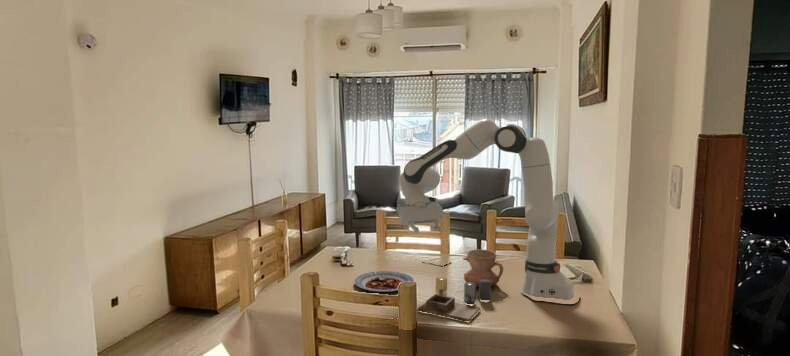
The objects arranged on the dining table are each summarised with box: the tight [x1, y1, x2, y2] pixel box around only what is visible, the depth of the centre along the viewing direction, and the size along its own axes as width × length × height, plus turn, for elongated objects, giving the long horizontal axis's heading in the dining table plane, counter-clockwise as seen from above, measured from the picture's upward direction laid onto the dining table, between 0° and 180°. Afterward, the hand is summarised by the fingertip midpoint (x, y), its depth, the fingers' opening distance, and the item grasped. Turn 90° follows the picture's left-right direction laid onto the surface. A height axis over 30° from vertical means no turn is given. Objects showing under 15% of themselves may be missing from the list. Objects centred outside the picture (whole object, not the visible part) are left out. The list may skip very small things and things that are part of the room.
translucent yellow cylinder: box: [435, 277, 448, 297], centre depth 194 cm, size 4×4×8 cm
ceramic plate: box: [354, 270, 415, 293], centre depth 211 cm, size 26×26×3 cm
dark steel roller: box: [463, 281, 477, 304], centre depth 188 cm, size 4×4×8 cm
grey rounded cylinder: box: [478, 279, 492, 300], centre depth 191 cm, size 4×4×8 cm
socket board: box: [417, 293, 481, 322], centre depth 181 cm, size 20×12×4 cm, turn 61°
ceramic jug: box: [462, 249, 504, 288], centre depth 209 cm, size 18×14×14 cm
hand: (427, 231), depth 203 cm, fingers open, 8 cm apart
